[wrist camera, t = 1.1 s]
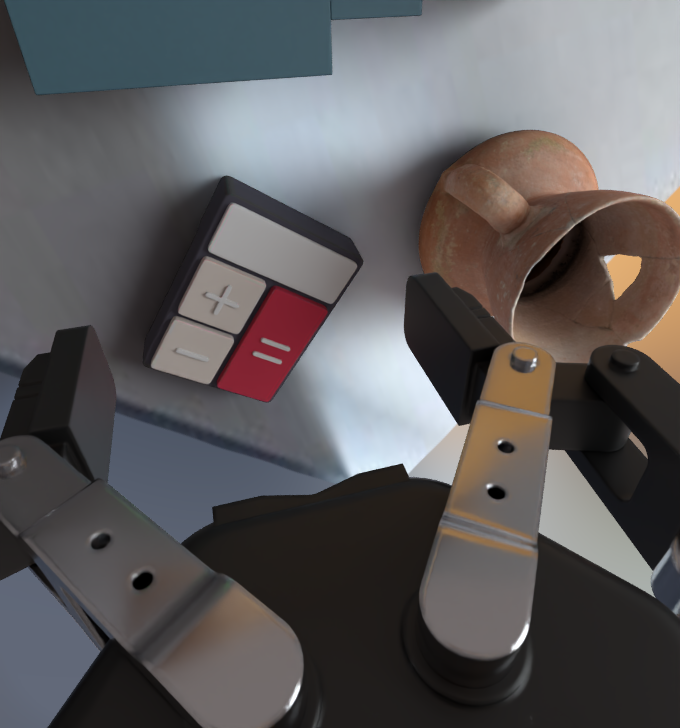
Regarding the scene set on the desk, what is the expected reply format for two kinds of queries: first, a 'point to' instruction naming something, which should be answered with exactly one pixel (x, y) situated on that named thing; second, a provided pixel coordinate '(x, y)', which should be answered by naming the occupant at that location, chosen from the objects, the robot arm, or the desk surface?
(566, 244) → the ceramic jug
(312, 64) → the teal platform stand
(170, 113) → the desk surface
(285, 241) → the calculator
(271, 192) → the desk surface
